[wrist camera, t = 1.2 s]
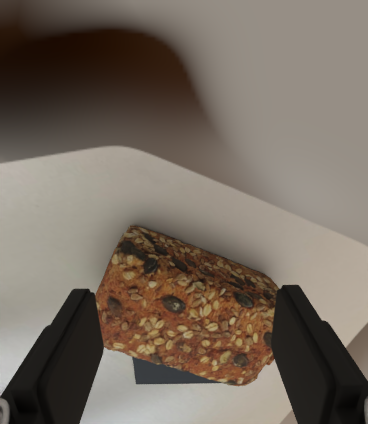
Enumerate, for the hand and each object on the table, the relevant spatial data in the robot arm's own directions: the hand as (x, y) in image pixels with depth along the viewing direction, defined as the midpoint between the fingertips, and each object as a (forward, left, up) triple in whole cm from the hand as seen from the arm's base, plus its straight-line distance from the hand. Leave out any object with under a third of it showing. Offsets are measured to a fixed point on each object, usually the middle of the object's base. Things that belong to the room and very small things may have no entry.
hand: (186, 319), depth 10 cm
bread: (+12, 0, -20) cm, 23 cm away
